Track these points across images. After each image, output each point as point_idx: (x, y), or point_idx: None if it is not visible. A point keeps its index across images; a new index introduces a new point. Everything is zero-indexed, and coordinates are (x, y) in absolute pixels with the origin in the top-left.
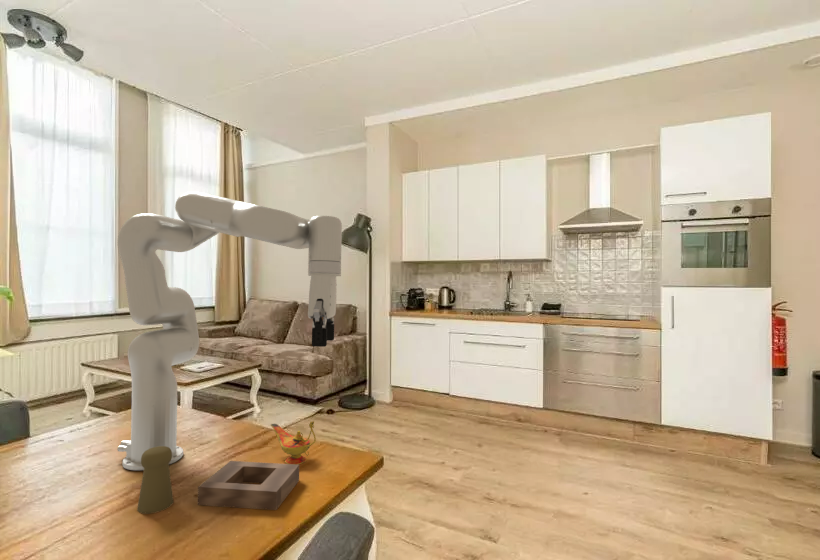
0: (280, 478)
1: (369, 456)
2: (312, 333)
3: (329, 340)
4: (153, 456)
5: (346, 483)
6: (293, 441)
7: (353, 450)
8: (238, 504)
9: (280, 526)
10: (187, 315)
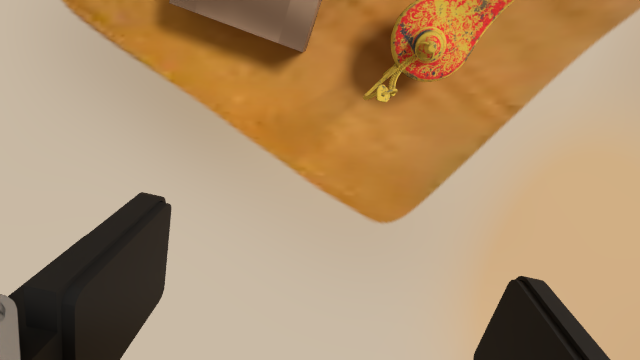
0: (232, 7)
1: (392, 212)
2: (70, 252)
3: (488, 334)
4: None
5: (274, 151)
6: (420, 32)
7: (438, 183)
8: None
9: (128, 19)
10: None
